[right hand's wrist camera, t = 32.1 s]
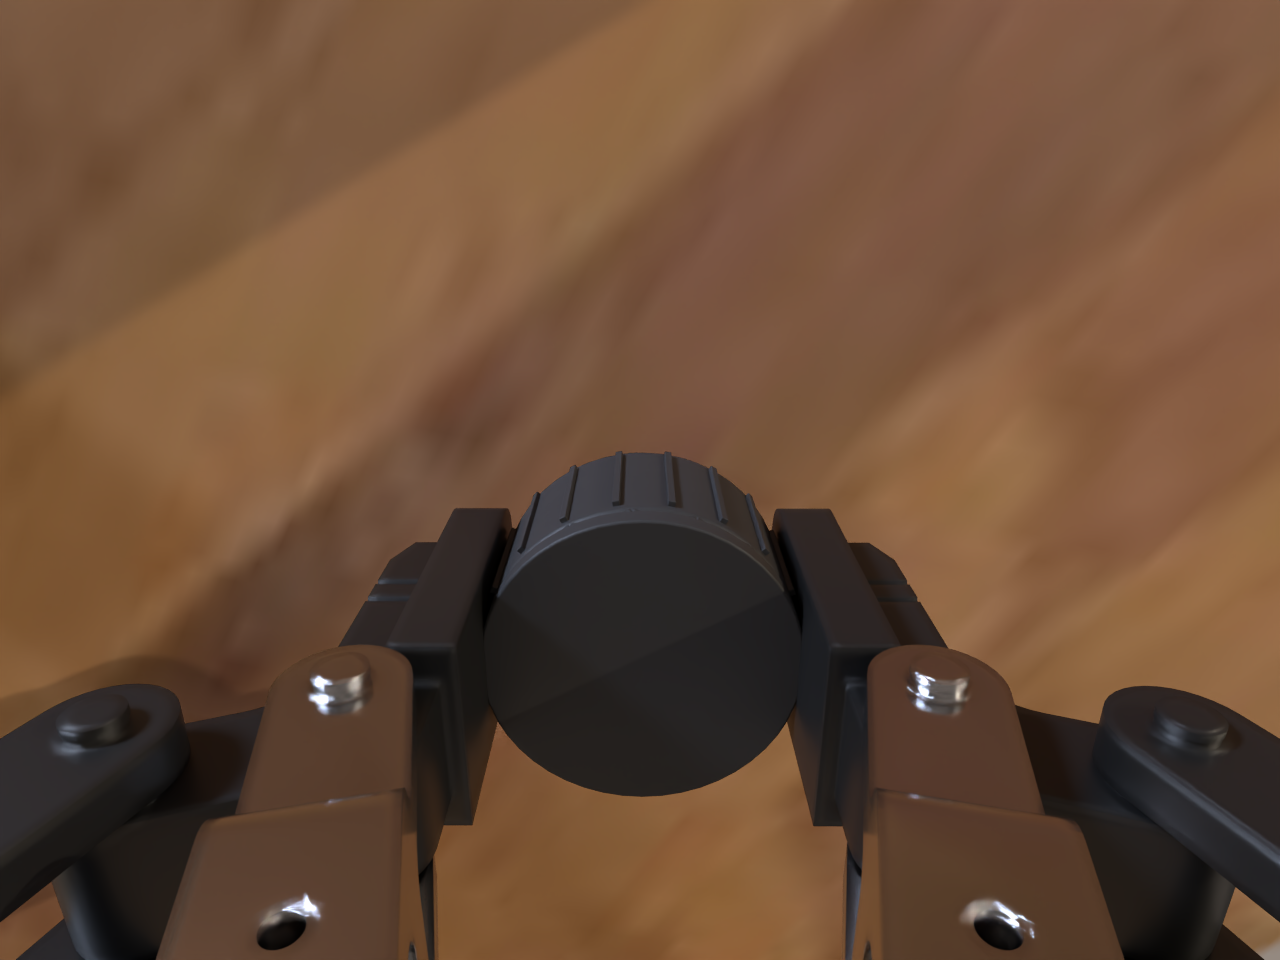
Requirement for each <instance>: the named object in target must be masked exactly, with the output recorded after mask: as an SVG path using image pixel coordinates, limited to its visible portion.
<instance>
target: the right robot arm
mask: <svg viewBox="0 0 1280 960" xmlns="http://www.w3.org/2000/svg"><path fill="white" fill-rule="evenodd" d="M511 528H512V522H511V516H510V512H509V509H508V508H456V509H454V511H453V512H452V514H451V516H450V518H449V520H448V522H447V524H446V526H445V528H444V530H443V532H442V534H441V536H440V538H439V540H438V542H416V543H414V544H413V545H411V546H410V547H408V548H407V549H405V550H404V551H402V552H401V553H400V554H398V555H397V556H395V557H394V558H392V559H391V560H390V561H389V563H388V564H387V566H386V568H385V569H384V571H383V573H382V574H381V576H380V578H379V580H378V584H376V585H375V586H374V588H373V590H372V591H371V593H370V595H369V596H368V601H365V603H364V605H363V606H362V608H361V610H360V611H359V613H358V615H357V616H356V618H355V620H354V621H353V623H352V625H351V626H350V628H349V630H348V631H347V633H346V635H345V636H344V638H343V640H342V641H341V643H340V645H339V646H338V647H336V648H332V649H328V650H324V651H321V652H319V653H316V654H313V655H311V656H308V657H306V658H304V659H302V660H300V661H298V662H297V663H295V664H293V665H292V666H290V667H289V668H288V669H286V670H285V671H284V672H283V673H282V674H281V675H280V676H278V677H277V679H276V680H275V681H274V683H273V684H272V686H271V688H270V691H269V693H268V697H267V701H266V704H265V706H264V707H261V708H258V709H254V710H250V711H246V712H242V713H237V714H232V715H227V716H221V717H216V718H211V719H206V720H201V721H196V722H191V723H186V724H185V723H184V719H183V715H182V710H181V706H180V703H179V699H178V698H177V697H176V695H175V694H174V693H172V692H171V691H169V690H168V689H165V688H163V687H160V686H155V685H150V684H125V685H118V686H111V687H107V688H102V689H98V690H94V691H91V692H88V693H84V694H82V695H79V696H76V697H74V698H71V699H69V700H66V701H64V702H62V703H60V704H58V705H56V706H54V707H52V708H50V709H49V710H47V711H45V712H43V713H42V714H40V715H38V716H37V717H35V718H33V719H32V720H30V721H29V722H27V723H25V724H24V725H22V726H20V727H19V728H17V729H15V730H14V731H12V732H11V733H9V734H7V735H6V736H4V737H2V738H1V739H0V922H1V921H2V920H4V919H5V918H6V917H7V916H9V915H10V914H11V913H12V912H14V911H15V910H16V909H17V908H19V907H20V906H21V905H22V904H24V903H25V902H26V901H27V900H29V899H30V898H31V897H32V896H34V895H35V894H36V893H37V892H39V891H40V890H41V889H42V888H44V887H45V886H46V885H47V884H49V883H50V882H52V884H53V887H54V890H55V893H56V896H57V899H58V902H59V905H60V908H61V911H62V913H63V916H64V919H63V920H62V921H61V922H59V923H58V924H57V925H56V926H55V927H54V928H52V929H51V930H50V931H49V932H48V933H47V934H45V935H44V936H43V937H42V938H41V939H39V940H38V941H37V942H36V943H35V944H34V945H32V946H31V947H30V948H29V949H28V950H27V951H25V952H24V953H23V954H22V955H21V956H19V957H18V958H17V959H16V960H439V958H438V910H437V874H436V865H435V857H434V854H435V851H436V849H437V846H438V842H439V839H440V835H441V832H442V829H443V825H472V824H473V820H474V816H475V812H476V808H477V804H478V800H479V795H480V791H481V787H482V783H483V779H484V775H485V771H486V767H487V763H488V759H489V755H490V751H491V746H492V742H493V738H494V734H495V730H496V726H497V722H498V721H497V719H496V717H495V715H494V713H493V711H492V709H491V707H490V705H489V700H488V689H487V676H486V663H485V651H484V637H483V628H484V625H485V622H486V619H487V615H488V612H489V609H490V606H491V603H492V600H493V597H494V594H493V593H491V592H490V590H491V587H492V584H493V581H494V578H495V575H496V572H497V569H498V566H499V563H500V560H501V557H502V554H503V551H504V548H505V545H506V542H507V539H508V536H509V533H510V531H511ZM772 530H774V532H775V535H776V538H777V541H778V544H779V546H780V549H781V552H782V555H783V558H784V561H785V564H786V567H787V569H788V572H789V575H790V578H791V581H792V584H793V587H794V590H795V593H796V595H793V596H791V597H792V600H793V603H794V606H795V609H796V612H797V615H798V618H799V622H800V625H801V628H802V640H801V653H800V665H799V677H798V689H797V700H796V705H795V707H794V709H793V711H792V713H791V715H790V717H789V719H788V721H787V723H788V727H789V731H790V735H791V739H792V743H793V747H794V751H795V755H796V759H797V763H798V767H799V771H800V775H801V779H802V782H803V786H804V790H805V794H806V798H807V802H808V806H809V810H810V814H811V818H812V822H813V826H843V829H844V832H845V836H846V839H847V848H846V857H845V865H844V874H843V910H842V958H841V960H1264V959H1263V958H1262V957H1261V956H1259V955H1258V954H1257V953H1256V952H1255V951H1253V950H1252V949H1251V948H1250V947H1249V946H1248V945H1246V944H1245V943H1244V942H1243V941H1242V940H1241V939H1239V938H1238V937H1237V936H1236V935H1235V934H1234V933H1232V932H1231V931H1230V930H1229V929H1228V928H1226V927H1225V926H1224V925H1223V921H1224V918H1225V915H1226V912H1227V909H1228V907H1229V904H1230V901H1231V898H1232V895H1233V892H1234V889H1235V887H1236V888H1238V889H1239V890H1240V891H1241V892H1243V893H1244V894H1245V895H1246V896H1248V897H1249V898H1250V899H1251V900H1253V901H1254V902H1255V903H1256V904H1258V905H1259V906H1260V907H1261V908H1263V909H1264V910H1265V911H1266V912H1268V913H1269V914H1270V915H1271V916H1273V917H1274V918H1275V919H1276V920H1278V921H1279V922H1280V739H1279V738H1278V737H1276V736H1274V735H1273V734H1271V733H1269V732H1268V731H1266V730H1265V729H1263V728H1261V727H1260V726H1258V725H1256V724H1255V723H1253V722H1251V721H1250V720H1248V719H1247V718H1245V717H1243V716H1242V715H1240V714H1238V713H1236V712H1235V711H1233V710H1231V709H1229V708H1227V707H1225V706H1223V705H1221V704H1219V703H1217V702H1214V701H1212V700H1209V699H1207V698H1204V697H1201V696H1199V695H1195V694H1192V693H1188V692H1185V691H1181V690H1176V689H1171V688H1164V687H1157V686H1135V687H1129V688H1124V689H1121V690H1118V691H1116V692H1114V693H1113V694H1111V695H1110V696H1109V697H1108V698H1107V699H1106V700H1105V703H1104V706H1103V710H1102V714H1101V718H1100V722H1099V724H1096V723H1091V722H1086V721H1081V720H1076V719H1071V718H1066V717H1061V716H1056V715H1051V714H1046V713H1041V712H1037V711H1033V710H1029V709H1026V708H1023V707H1020V706H1017V705H1015V704H1014V701H1013V697H1012V693H1011V691H1010V688H1009V686H1008V684H1007V683H1006V681H1005V680H1004V679H1003V677H1002V676H1000V675H999V674H998V673H997V672H996V671H995V670H994V669H992V668H991V667H990V666H988V665H987V664H985V663H983V662H982V661H980V660H978V659H976V658H974V657H972V656H969V655H967V654H964V653H961V652H959V651H956V650H952V649H948V647H947V645H946V644H945V642H944V641H943V639H942V637H941V636H940V634H939V632H938V631H937V629H936V627H935V626H934V624H933V622H932V621H931V619H930V618H929V616H928V614H927V613H926V611H925V609H924V608H923V606H922V604H921V603H920V602H917V596H916V595H915V593H914V591H913V590H912V588H911V586H910V585H907V580H906V578H905V576H904V575H903V573H902V572H901V570H900V568H899V567H898V565H897V563H896V562H895V560H893V559H892V558H890V557H889V556H888V555H886V554H885V553H883V552H882V551H880V550H879V549H877V548H876V547H874V546H873V545H871V544H870V543H848V542H847V540H846V538H845V536H844V535H843V533H842V531H841V529H840V527H839V525H838V523H837V521H836V519H835V517H834V515H833V513H832V511H831V510H830V509H776V511H775V514H774V518H773V526H772Z"/></svg>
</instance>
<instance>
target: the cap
mask: <svg viewBox="0 0 1280 960" xmlns="http://www.w3.org/2000/svg"><path fill="white" fill-rule="evenodd" d="M490 592H491V593H493V594H494V597H493V600H492V603H491V606H490V609H489V612H488V615H487V619H486V622H485V625H484V628H483V637H484V651H485V663H486V676H487V689H488V700H489V705H490V707H491V709H492V711H493V713H494V715H495V717H496V719H497V721H498V722H499V724H500V725H501V727H502V728H503V730H504V731H505V733H506V734H507V735H508V737H509V738H510V739H511V740H512V741H513V742H514V743H515V744H516V746H517V747H518V748H519V749H520V750H521V751H523V752H524V753H525V754H526V755H527V756H528V757H529V758H531V759H532V760H533V761H534V762H536V763H537V764H539V765H540V766H542V767H543V768H544V769H546V770H547V771H549V772H551V773H553V774H555V775H557V776H558V777H560V778H562V779H564V780H566V781H569V782H571V783H574V784H576V785H579V786H582V787H584V788H588V789H592V790H595V791H599V792H603V793H609V794H615V795H622V796H640V797H645V796H663V795H669V794H676V793H682V792H686V791H689V790H693V789H697V788H700V787H703V786H706V785H708V784H711V783H713V782H716V781H719V780H721V779H722V778H724V777H726V776H728V775H730V774H732V773H734V772H736V771H737V770H739V769H740V768H742V767H743V766H745V765H746V764H748V763H749V762H751V761H752V760H753V759H754V758H755V757H757V756H758V755H759V754H760V753H761V752H762V751H763V750H765V749H766V748H767V746H768V745H769V744H770V743H771V742H772V741H773V740H774V739H775V737H776V736H777V735H778V734H779V732H780V731H781V729H782V728H783V726H784V725H785V724H786V722H787V721H788V719H789V717H790V715H791V713H792V711H793V709H794V707H795V705H796V700H797V689H798V677H799V665H800V653H801V640H802V628H801V625H800V622H799V618H798V615H797V612H796V609H795V606H794V603H793V600H792V597H791V596H793V595H796V593H795V590H794V587H793V584H792V581H791V578H790V575H789V572H788V569H787V567H786V564H785V561H784V558H783V555H782V552H781V549H780V546H779V544H778V541H777V538H776V535H775V532H774V530H770V531H769V530H768V528H767V526H766V524H765V522H764V519H763V518H762V516H761V515H760V513H759V512H758V510H757V509H756V507H755V504H754V501H753V498H752V496H751V495H750V494H749V493H748V494H747V495H745V494H744V493H743V492H742V491H741V490H739V489H738V488H737V487H736V486H735V485H734V484H732V483H731V482H730V481H729V480H727V479H726V478H724V477H723V476H721V475H719V474H718V473H717V469H716V468H714V467H712V466H711V467H710V468H707V467H704V466H702V465H700V464H698V463H695V462H692V461H690V460H687V459H683V458H680V457H675V456H671V452H665V454H654V453H628V454H622V451H620V452H616V455H615V456H610V457H605V458H602V459H598V460H595V461H592V462H589V463H586V464H584V465H582V466H580V467H576V465H574V466H572V467H570V471H569V472H568V473H567V474H565V475H563V476H562V477H560V478H559V479H557V480H556V481H554V482H553V483H552V484H551V485H550V486H548V487H547V488H546V489H545V490H544V491H543V492H542V493H541V494H540V493H539V492H536V493H535V494H534V496H533V499H532V502H531V505H530V506H529V508H528V509H527V511H526V512H525V514H524V515H523V517H522V518H521V520H520V522H519V524H518V526H517V528H516V529H515V528H511V531H510V533H509V536H508V539H507V542H506V545H505V548H504V551H503V554H502V557H501V560H500V563H499V566H498V569H497V572H496V575H495V578H494V581H493V584H492V587H491V590H490Z"/></svg>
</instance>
